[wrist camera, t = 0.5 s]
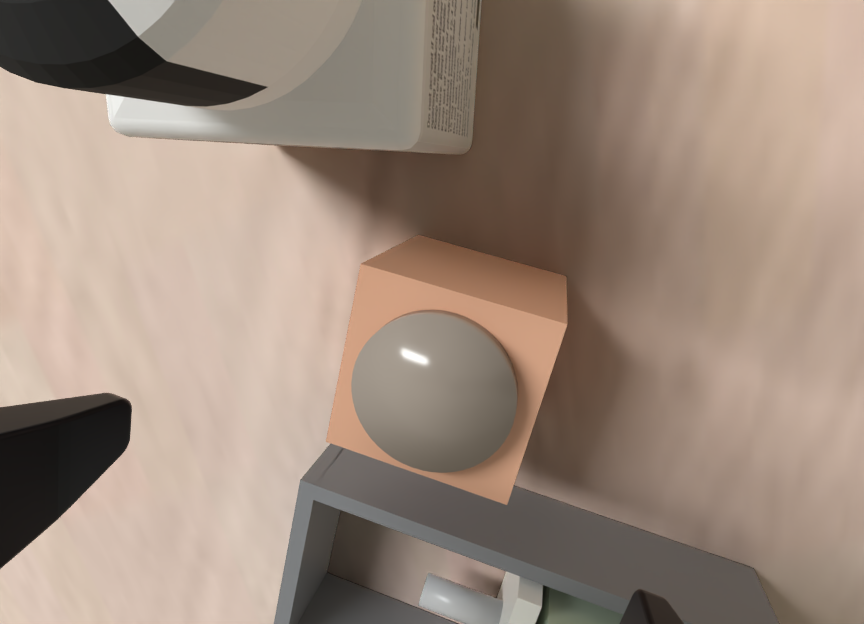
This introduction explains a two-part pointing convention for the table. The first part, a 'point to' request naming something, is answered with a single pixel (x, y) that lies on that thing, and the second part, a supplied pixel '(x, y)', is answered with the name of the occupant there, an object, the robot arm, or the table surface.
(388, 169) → the table surface
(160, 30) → the container
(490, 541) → the lane
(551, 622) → the sage jar
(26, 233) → the table surface
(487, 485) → the orange block with dome
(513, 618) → the pusher
